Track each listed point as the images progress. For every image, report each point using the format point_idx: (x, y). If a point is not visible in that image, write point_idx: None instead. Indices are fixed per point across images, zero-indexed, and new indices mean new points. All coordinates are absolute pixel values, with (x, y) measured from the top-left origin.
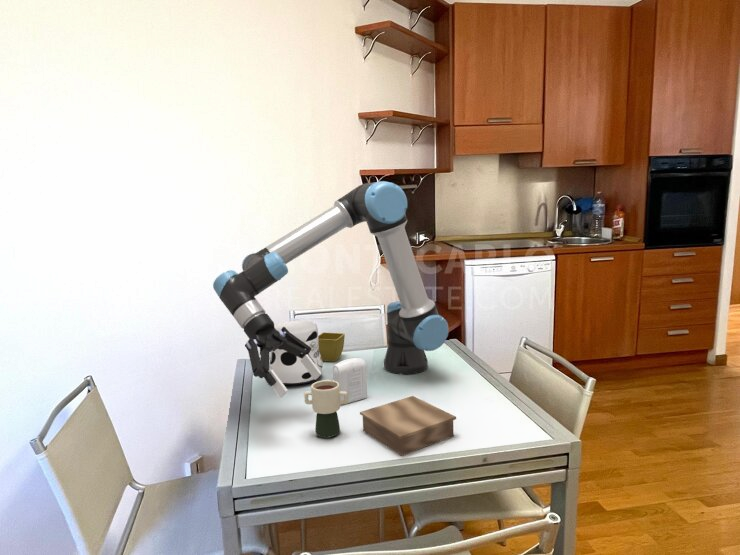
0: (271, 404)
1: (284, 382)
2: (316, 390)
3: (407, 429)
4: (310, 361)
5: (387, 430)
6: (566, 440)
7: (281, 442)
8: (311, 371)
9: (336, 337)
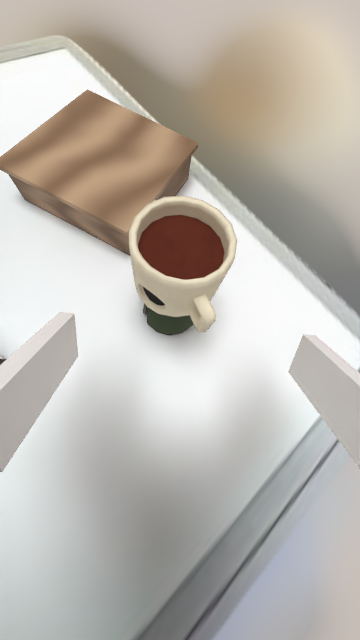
0: (46, 613)
1: None
2: (235, 247)
3: (168, 139)
4: (28, 361)
5: (180, 168)
6: (65, 39)
7: (245, 381)
8: (59, 367)
9: None
